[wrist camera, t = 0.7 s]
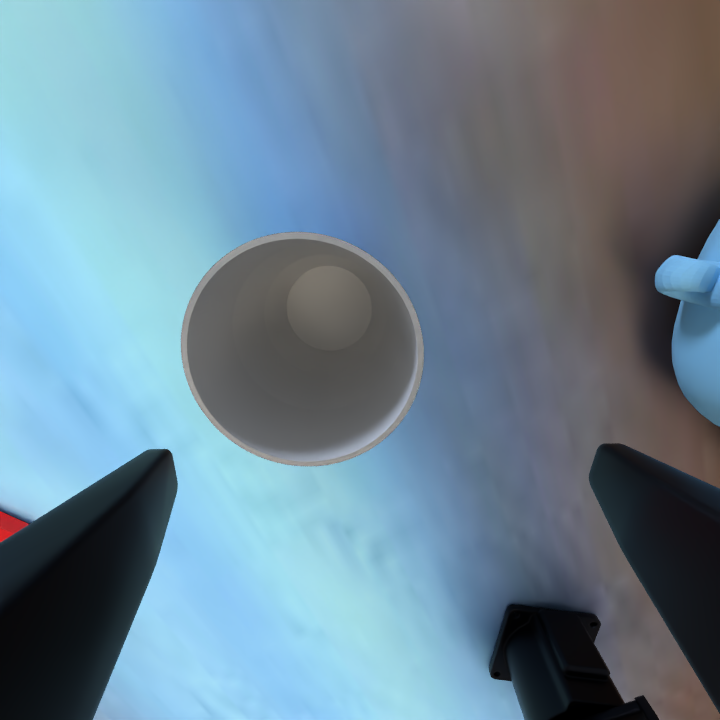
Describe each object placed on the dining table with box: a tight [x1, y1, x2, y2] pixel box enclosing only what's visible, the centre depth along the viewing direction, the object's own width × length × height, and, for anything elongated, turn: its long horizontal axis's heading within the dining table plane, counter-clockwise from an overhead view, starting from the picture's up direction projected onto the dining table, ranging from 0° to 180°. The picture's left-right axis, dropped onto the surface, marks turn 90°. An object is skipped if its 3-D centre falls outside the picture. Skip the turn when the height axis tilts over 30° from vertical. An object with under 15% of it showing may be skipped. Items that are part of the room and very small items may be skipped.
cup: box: [181, 232, 424, 466], centre depth 19 cm, size 8×8×10 cm
